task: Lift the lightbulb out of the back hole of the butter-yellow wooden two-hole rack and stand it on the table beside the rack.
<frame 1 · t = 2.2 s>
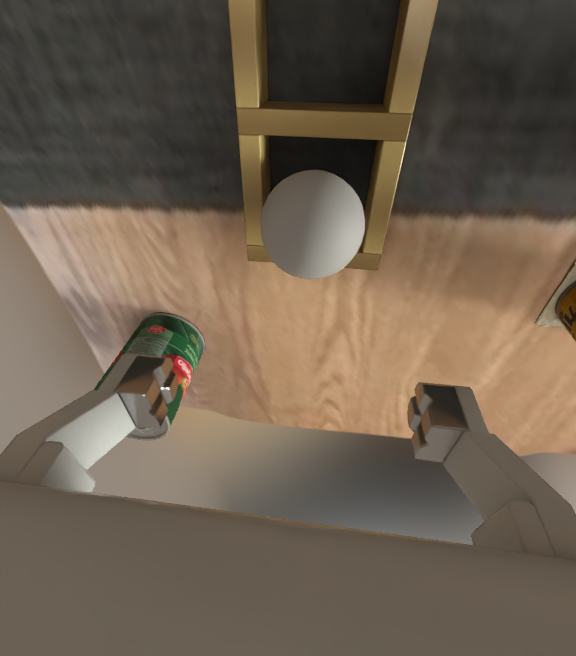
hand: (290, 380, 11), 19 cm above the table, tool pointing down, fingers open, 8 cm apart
rack: (324, 114, 22), on the table
canned tomato: (173, 337, 39), on the table
lightbulb: (319, 182, 25), resting in rack
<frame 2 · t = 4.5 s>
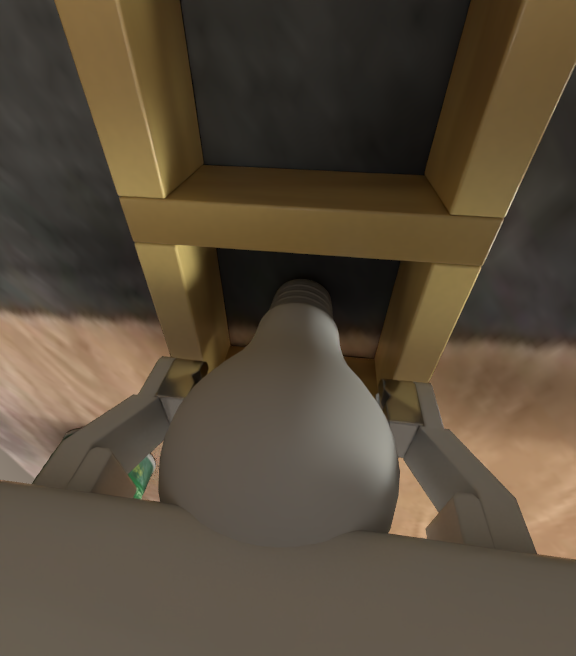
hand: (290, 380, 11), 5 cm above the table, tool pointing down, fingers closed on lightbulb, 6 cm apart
rack: (309, 190, 12), on the table
canned tomato: (112, 451, 28), on the table
lightbulb: (304, 290, 15), resting in rack, touching gripper
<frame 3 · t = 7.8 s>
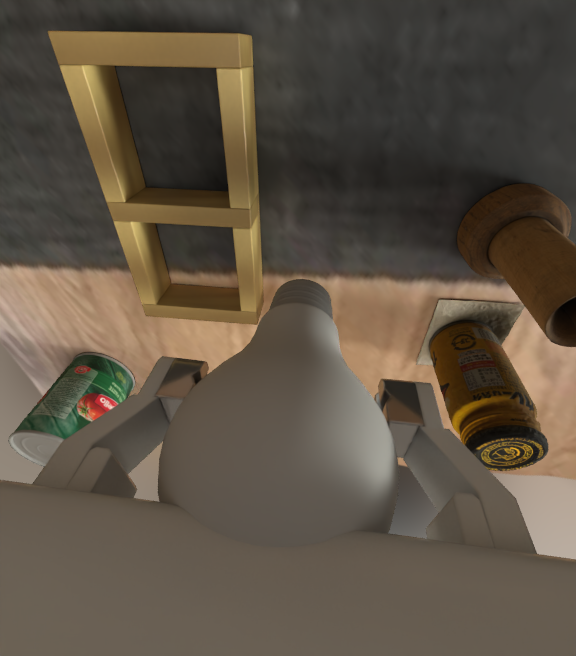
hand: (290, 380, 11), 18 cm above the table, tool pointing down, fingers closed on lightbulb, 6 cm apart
rack: (194, 198, 26), on the table
canned tomato: (105, 372, 42), on the table
mortar and pestle: (502, 226, 25), on the table
condiment: (463, 334, 32), on the table
lightbulb: (304, 290, 15), point 13 cm above the table, touching gripper
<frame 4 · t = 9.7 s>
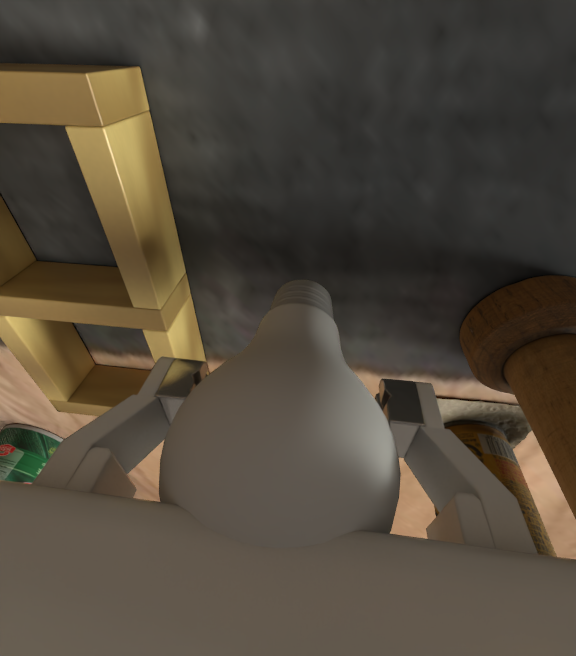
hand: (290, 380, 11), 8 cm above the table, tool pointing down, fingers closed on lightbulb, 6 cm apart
rack: (103, 275, 19), on the table
canned tomato: (42, 442, 36), on the table
mortar and pestle: (523, 322, 18), on the table
condiment: (467, 432, 25), on the table
lightbulb: (304, 290, 15), point 3 cm above the table, touching gripper
when the fingers open (5 cm above the table, at t = 11.1 s): lightbulb stays where it is, on the table.
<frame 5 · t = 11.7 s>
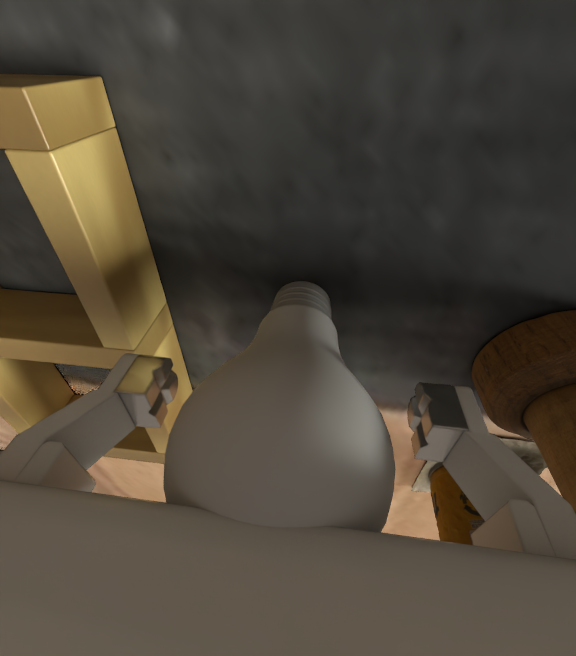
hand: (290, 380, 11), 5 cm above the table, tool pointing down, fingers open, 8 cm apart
rack: (76, 304, 17), on the table
mortar and pestle: (543, 358, 16), on the table
condiment: (477, 465, 23), on the table
lightbulb: (304, 292, 15), on the table
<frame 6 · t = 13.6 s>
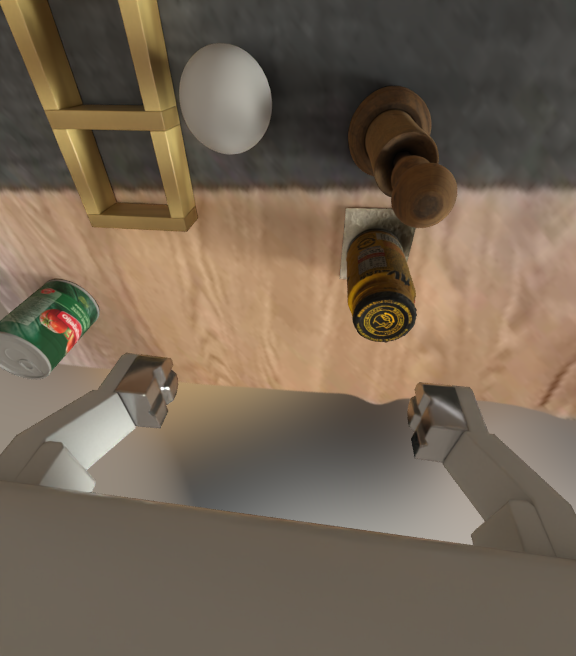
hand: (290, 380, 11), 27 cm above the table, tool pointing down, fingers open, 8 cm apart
rack: (124, 114, 30), on the table
canned tomato: (72, 301, 47), on the table
mortar and pestle: (385, 131, 29), on the table
condiment: (375, 245, 36), on the table
lightbulb: (250, 90, 28), on the table
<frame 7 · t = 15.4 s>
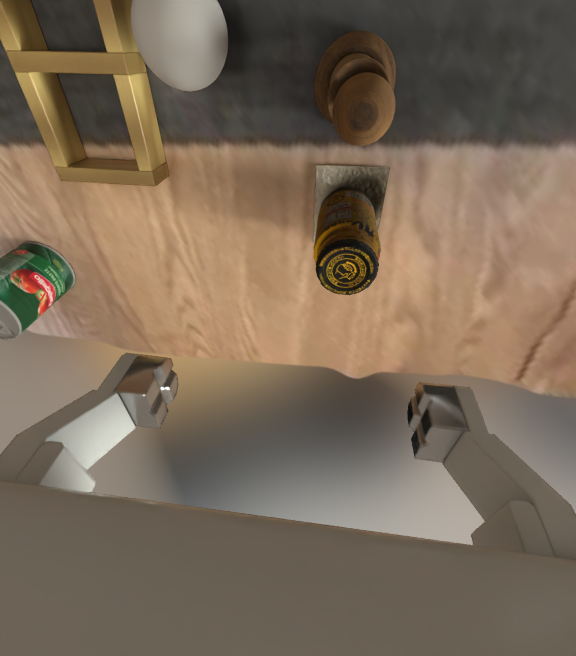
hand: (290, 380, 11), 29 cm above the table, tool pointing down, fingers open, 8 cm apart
rack: (90, 60, 30), on the table
canned tomato: (48, 266, 47), on the table
mortar and pestle: (353, 81, 29), on the table
condiment: (348, 206, 36), on the table
lightbulb: (216, 36, 28), on the table
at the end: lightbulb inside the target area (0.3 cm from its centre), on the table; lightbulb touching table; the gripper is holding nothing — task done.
